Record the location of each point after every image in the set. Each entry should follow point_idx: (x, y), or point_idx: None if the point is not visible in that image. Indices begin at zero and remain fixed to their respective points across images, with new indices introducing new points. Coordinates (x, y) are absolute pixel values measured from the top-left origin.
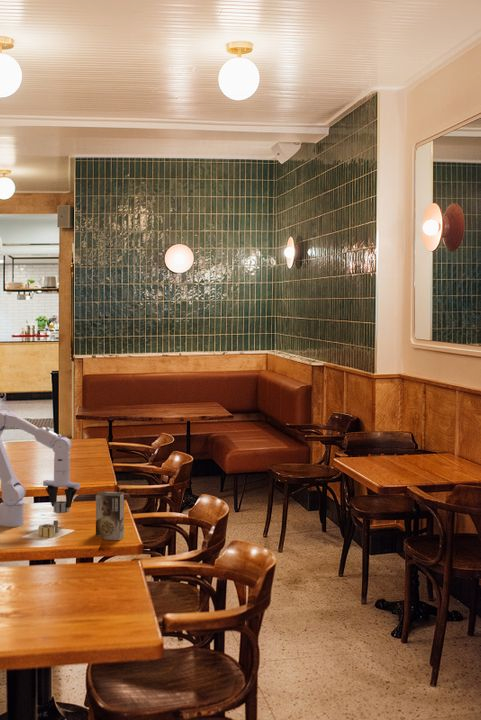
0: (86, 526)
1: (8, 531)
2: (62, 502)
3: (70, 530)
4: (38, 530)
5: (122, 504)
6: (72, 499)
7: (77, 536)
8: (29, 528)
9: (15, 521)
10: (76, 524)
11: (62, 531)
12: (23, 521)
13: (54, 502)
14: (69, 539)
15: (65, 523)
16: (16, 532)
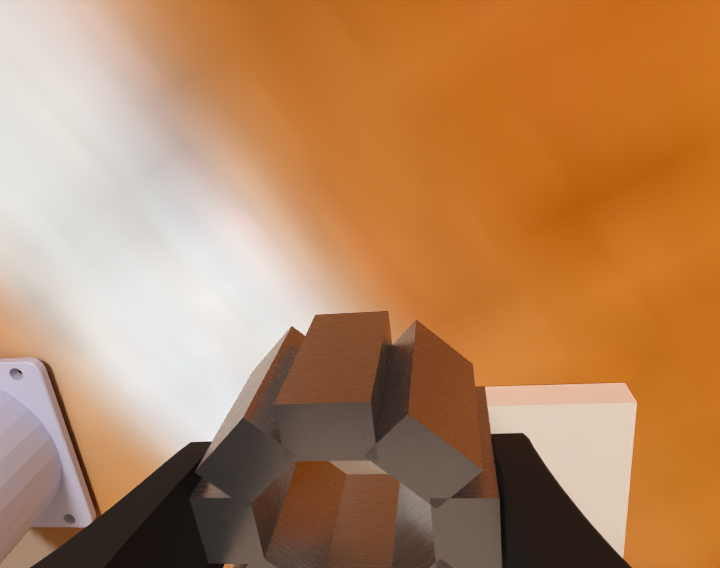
0: (587, 42)
1: (61, 540)
2: (306, 446)
3: (590, 431)
4: None
5: None
6: (596, 537)
7: (699, 456)
8: (111, 407)
9: (12, 548)
10: (405, 19)
11: None
12: (5, 441)
13: (223, 563)
14: (673, 556)
15: (252, 51)
16: None
